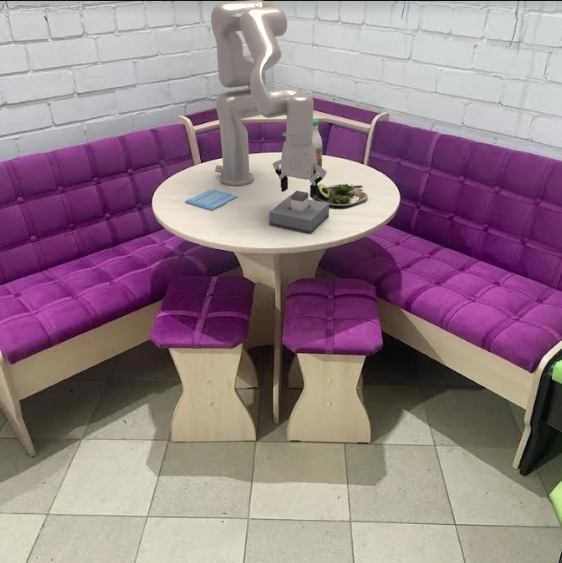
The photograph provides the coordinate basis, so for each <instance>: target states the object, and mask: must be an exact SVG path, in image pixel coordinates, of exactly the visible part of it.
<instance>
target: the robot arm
mask: <svg viewBox="0 0 562 563" xmlns="http://www.w3.org/2000/svg"><path fill="white" fill-rule="evenodd" d="M287 19H288V18H287V17H286V14H285V12H284V11H283V9H281V7H280V6H278V5H275V4H274V3H270V2H268V1H264V0H236V1H224V2H222V3H217V4H216V5H215V6H214V7H213V8H212V11H211V15H210V22H211V23H210V25H211V30H212V33H213V35H214V39H215V43H216V57H217V74H218V80H219V83H220V85H221V86H222V87H224V88H229V89H230V88H240V87H248V88H245V89H237V90H229V91H225V92H223V93H221V94H219V95H218V96H217V97H216V99H215V108H216V109H215V110H216V113H217V118H218V122H219V129H220V141H221V142H220V143H221V155H222V156H221V158H222V165H220V164H217V165H216V166H215V170H214V171H215V173H220V176H219V182H220V183H221V184H223V185H226V186H231V187H232V186H234V187H236V186H237V187H239V186H244V185H245V186H246V185H248V184H251V183H252V182H254V179H255V176H254V174H253V173H252V172H250V154H249V152H250V151H249V137H248V136H249V135H248V134H249V133H248V130H247V128H246V126H245V125H244V124H243V122H242V121H241V120H243V119H244V120H245V119H249V118H253V117H259V116H263V117H264V118H266V119H267V118H268V119H272V118H278V117H282V116H286V131H284V132H282V137H285V141H284V142H283V144H282V145H283V146H282V149H281V157H280V158H281V159H278V160H276V161H274V162H272V166H273V168H274V170H275V171H274V172H275V174H276V175H277V176H278V179H279V180H280V189H281V190H280V191H281V192H282V193H283V192H285V191H287V190H288V189H289V177H290V178H296V179H301V180H309V182H310V183H311V184H310V186H309V197H310V198H311V199H314V198H313V197H314V196H315V195H316V194H317V189H318V185H319V183H320V182H321V181H322V180H324V178H325V176H326V174H327V170H325V169H324V168H323V167H322V168H321V167H320V166H318V165H317V162H316V150H315V145H314V143H312V138H313V119H314V98H313V96H312V95H311V94H309V93H305V92H304V91H302V90H301V89H300V88H298V87H294V86H290V87H284V88H283V87H282V88H275V89H270V90H269V89H267V87H266V71H268V70H269V69H271V68H272V67H273V66H275V65H276V64H277V63H278V62H279V61H280V60H281V58H282V50H281V48H280V45H279V43H278V41H277V38H276V37H282V36H284V35H285V33H286V32H287V29H288V20H287ZM238 32H241V33H242V35H243V38H244V42H245V43H246V45H247V48H248V50H249V53H250V54H249V55H244V44H243V40H242V38H241V37H240V35H239V34H238ZM316 171H317V172H318V173H320V175H317V176H316V175H315V174H316Z"/></svg>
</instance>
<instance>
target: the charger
mask: <svg viewBox="0 0 562 563" xmlns="http://www.w3.org/2000/svg"><path fill="white" fill-rule="evenodd" d="M290 196H291V210H294V211H299V212H305V211H306V210H307V209H308V199H309V192H307V191H301V190H295V191H294V192H293V193H291V194H290Z"/></svg>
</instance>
